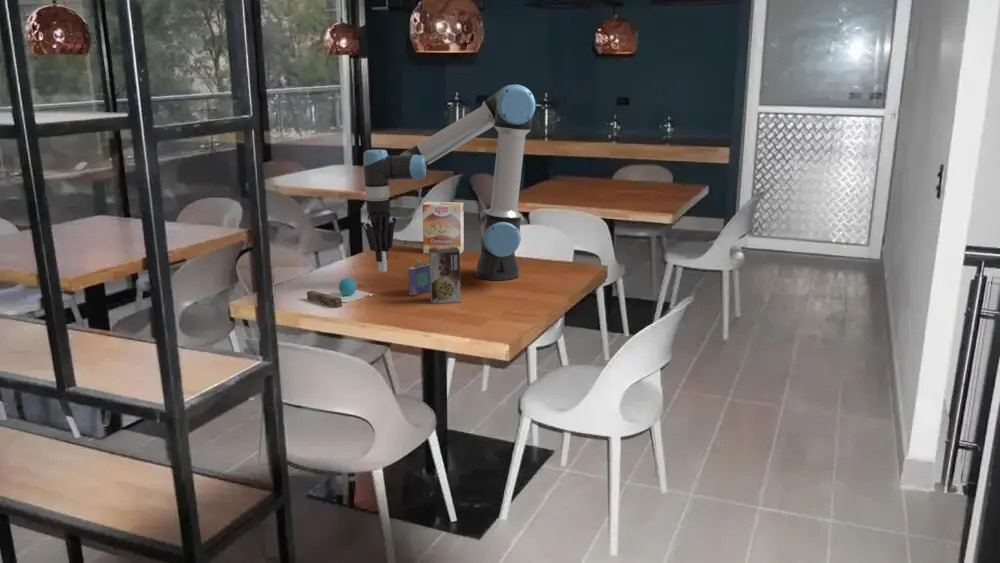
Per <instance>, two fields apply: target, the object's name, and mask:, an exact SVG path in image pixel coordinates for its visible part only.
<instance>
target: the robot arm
mask: <svg viewBox="0 0 1000 563" xmlns="http://www.w3.org/2000/svg"><path fill="white" fill-rule="evenodd" d="M535 111H536V100H535V97H534V94H533V93H532V91H531V90H530V89H529V88H527V87H526V86H524V85H521V84H507V85H505V86H503V87H501V88H500V89H498V91H497V92H495V93H494V94H493V95H492V96H490V97H489V98H487V99H486V100H483V101H482V104H481V106H480V107H478V108H477V109H475V110H473V111H471V112H469V113H468V114H467V115H464V116H463V117H461V118H459V119H457V120H456V121H454V122H453V123H451V124H449V125H447V126H446V127H445V128H443V129H441V130H440V131H438V132H436V133H434V134H432V135H431V136H429V137H428V138H426V139H424V140H422V141H420V142H419V143H418V144H415V145H414V146H413V147H411V148H409V149H408V150H404V151H403V152H401V153H400V154H399V155H389V154H388V151H387V150H386V149H368V150H365V151H364V152H363V173H364V183H365V184H364V186H365V187H364V188H365V198H366V211H367V213H368V216H367V220H366V221H365V222H362V224H361V225H362V227H363V229H364V230H365V235H366V239H367V241H368V242H367V243H368V246H369V250H370V251H372V252H375V260H376V262H377V270H378V271H379V272H384V273H385V272H388V258H389V257H388V254H389V253H388V252H389V251H390V249H391V248H393V243H394V242H393V241H394V234H395V233H394V232H395V225H396V223H397V218H396V217H393V216H391V213H390V210H391V199H390V196H391V194H390V193H391V192H390V182H389V181H390V180H393V181H394V180H417V179H419V180H420V179H425V178H426V176H427V169H426V168H427V166H428V165H430V164H432V163H434V162H435V161H437V160H439V159H440V158H443V157H444V156H446V155H447V154H449V153H450V152H452V151H454V150H456V149H457V148H459V147H461V146H462V145H464V144H466V143H468V142H469V141H471V140H473V139H474V138H476V137H478V136H479V135H482V134H483V133H484V132H487V131H488V130H490V129H491V128H494V129H495V130H496V131H497V142H496V144H497V145H496V155H495V163H494V176H493V184H492V193H491V204H490V207H489V209H484V210H482V211H481V213H480V255H479V258H478V261H477V266H476V268H475V276H476V277H477V278H479V279H481V280H482V279H483V280H488V281H508V280H509V281H510V280H513V279H517V278H519V277H520V267H519V265H518V260H517V257H516V255H515V253H516V251H517V250H518V249H519V247H520V244H521V240H522V239H521V238H522V237H521V232H520V230H521V221H522V214H521V212H520V211H519V210H518V207H519V206H518V205H519V197H520V188H521V180H522V168H523V160H524V151H525V142H526V136H527V134H528V133H530V132H531V129H532V122H533V116H534V114H535ZM518 276H519V277H518ZM516 277H517V278H516Z"/></svg>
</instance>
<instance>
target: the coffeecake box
mask: <svg viewBox="0 0 1000 563" xmlns="http://www.w3.org/2000/svg"><path fill="white" fill-rule="evenodd" d="M464 215H465V214H464V202H457V201H455V202H450V201H449V202H448V201H445V202H444V201H426V202H423V204H422V245H423V246H422V248H423V252H422V253H423V254H425V253H429V248H449V247H457V248H458V249H459V251H460V254H461V253H463V252H464V251H465V250H464V246H465V245H464V244H465V242H464V241H465V240H464V238H465V237H464V233H465V232H464V231H465V230H464V225H465V224H464Z"/></svg>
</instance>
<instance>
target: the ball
mask: <svg viewBox="0 0 1000 563" xmlns="http://www.w3.org/2000/svg"><path fill="white" fill-rule="evenodd" d="M356 290H357V283H356V282H355V280H354V279H353V278H351V277H350V278H348V277H347V278H344V279H341V281H340V282H339V284H338V291H340V292H341V293H342V294H343V295H346V296H349V295H352V294H354V292H355V291H356Z"/></svg>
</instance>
